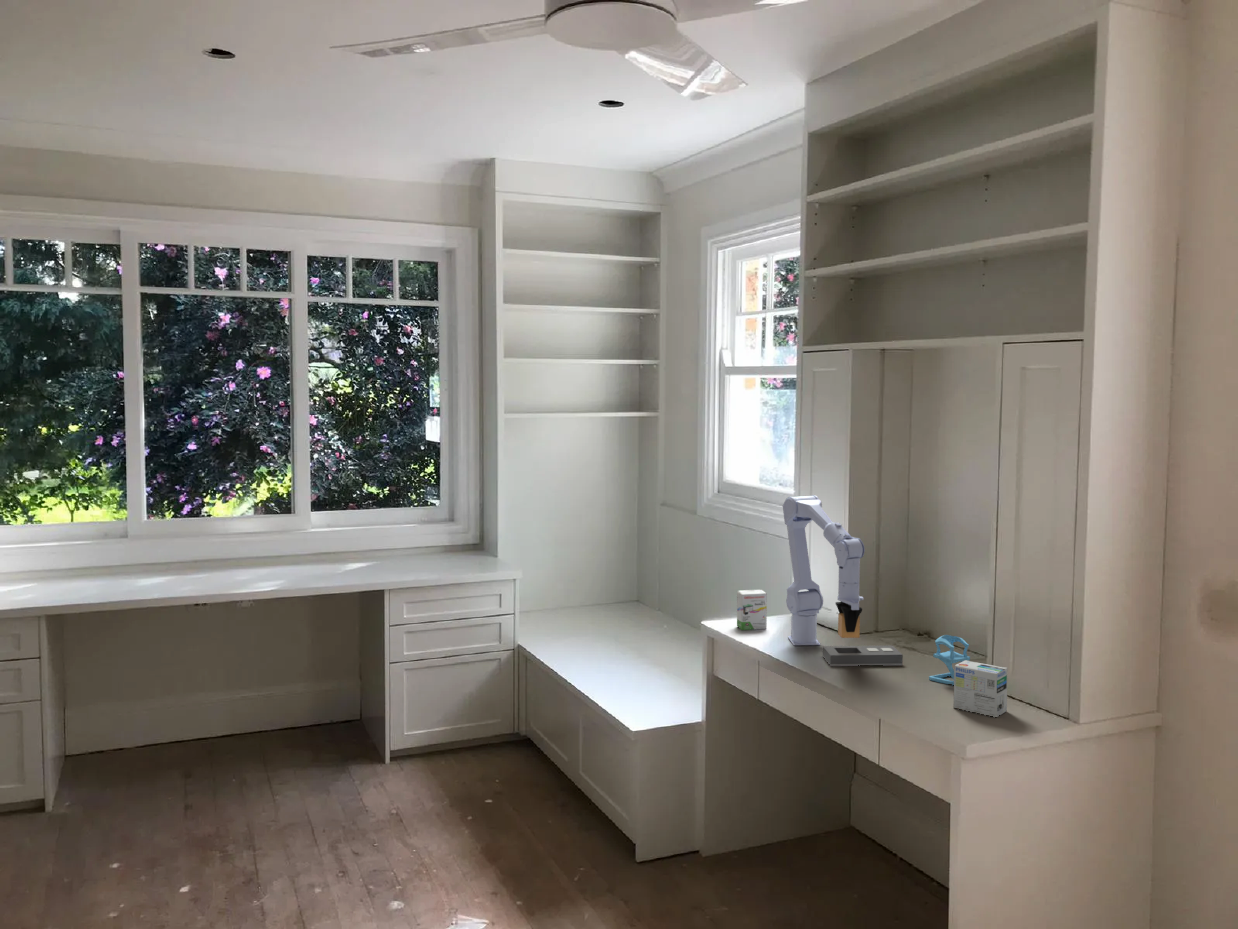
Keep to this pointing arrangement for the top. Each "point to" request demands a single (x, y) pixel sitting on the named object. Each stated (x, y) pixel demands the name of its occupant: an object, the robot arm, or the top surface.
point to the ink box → (751, 609)
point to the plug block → (842, 628)
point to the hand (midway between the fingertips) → (848, 629)
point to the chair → (949, 657)
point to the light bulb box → (980, 688)
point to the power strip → (862, 655)
